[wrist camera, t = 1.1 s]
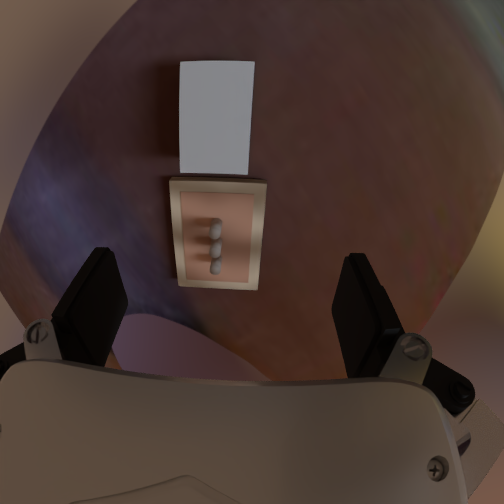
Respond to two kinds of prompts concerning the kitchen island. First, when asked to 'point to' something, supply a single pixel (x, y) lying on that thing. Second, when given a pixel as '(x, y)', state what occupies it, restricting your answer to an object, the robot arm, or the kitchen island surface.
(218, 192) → the pin block
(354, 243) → the kitchen island surface
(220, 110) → the block
